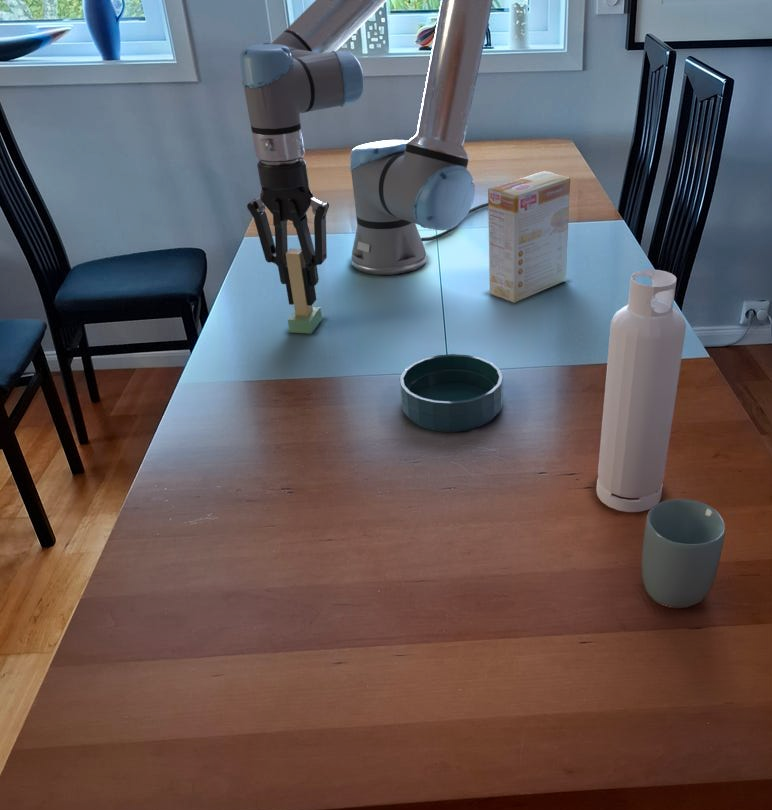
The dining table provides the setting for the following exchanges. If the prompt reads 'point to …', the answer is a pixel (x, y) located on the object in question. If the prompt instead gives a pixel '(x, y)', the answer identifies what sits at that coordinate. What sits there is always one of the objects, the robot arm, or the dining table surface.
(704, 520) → the cup
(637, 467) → the bottle
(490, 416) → the bowl
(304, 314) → the brush
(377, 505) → the dining table surface
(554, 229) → the coffeecake box
